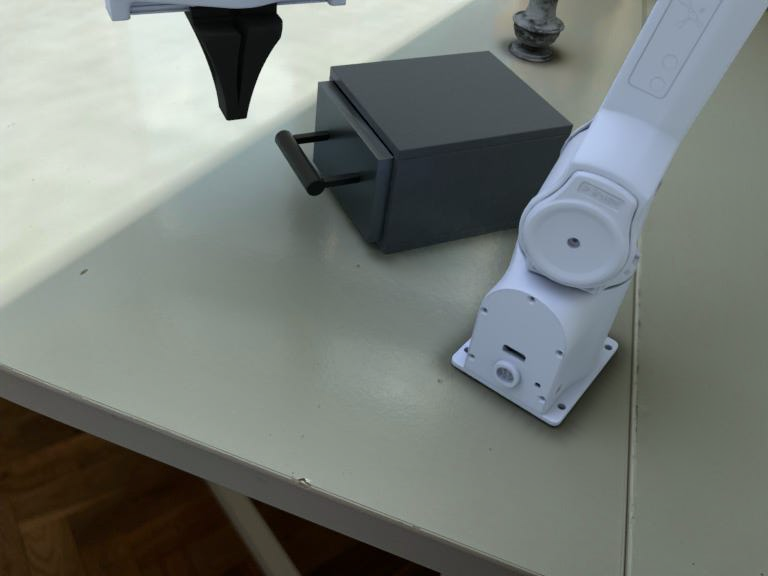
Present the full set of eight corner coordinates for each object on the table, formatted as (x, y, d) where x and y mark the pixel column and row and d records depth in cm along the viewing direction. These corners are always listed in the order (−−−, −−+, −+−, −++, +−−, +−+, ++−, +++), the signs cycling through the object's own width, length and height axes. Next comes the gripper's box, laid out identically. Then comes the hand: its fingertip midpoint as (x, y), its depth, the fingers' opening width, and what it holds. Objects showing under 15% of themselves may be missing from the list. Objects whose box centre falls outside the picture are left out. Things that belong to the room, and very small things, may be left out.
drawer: (314, 253, 57) (321, 168, 52) (264, 168, 64) (265, 87, 59) (519, 213, 63) (541, 134, 59) (452, 140, 71) (467, 65, 66)
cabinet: (384, 254, 59) (399, 150, 53) (322, 164, 67) (330, 65, 61) (543, 221, 65) (574, 124, 59) (469, 142, 73) (489, 50, 67)
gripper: (323, -125, 49) (312, 74, 58) (81, -125, 44) (110, 95, 53) (369, -89, 45) (349, 121, 54) (105, -84, 39) (132, 150, 48)
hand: (232, 112), depth 53 cm, fingers closed
